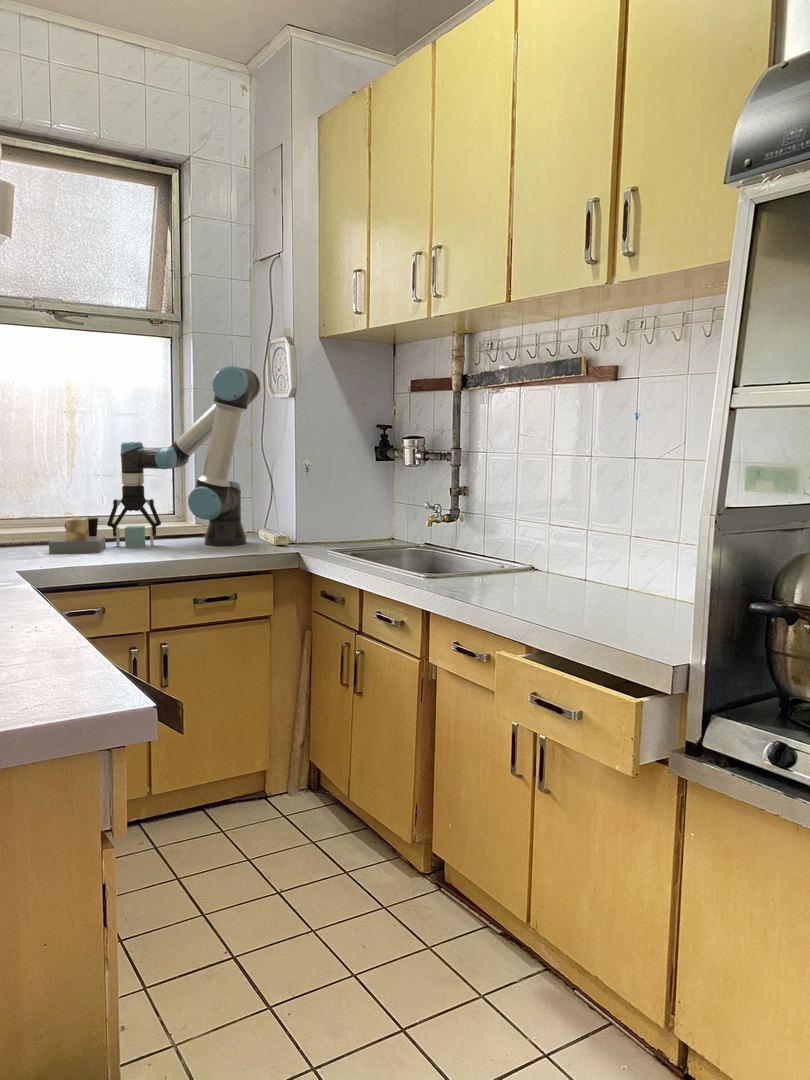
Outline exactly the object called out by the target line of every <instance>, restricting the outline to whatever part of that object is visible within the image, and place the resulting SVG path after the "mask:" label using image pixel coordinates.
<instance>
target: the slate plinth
mask: <svg viewBox="0 0 810 1080" xmlns="http://www.w3.org/2000/svg"><path fill="white" fill-rule="evenodd" d="M106 546H107V545H106V536H104V535H102V536H101V535H100V536H99V535H97V536H89V538H88V539H86V540H78V541H66V536H56V537H55V538H54V539H52V540H50V541H48V554H49V555H51V554H52V555H58V554H98V553H101V552H102V551H103V550H104V549H106Z"/></svg>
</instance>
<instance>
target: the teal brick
mask: <svg viewBox="0 0 810 1080" xmlns="http://www.w3.org/2000/svg"><path fill="white" fill-rule="evenodd" d="M145 527H146V525H127V526H126V527H125V528H124V545H125V546H124V547H125V548H126V549H127V548H133V549H134V548H135V549H137V548H144V546H145V545H146V528H145Z"/></svg>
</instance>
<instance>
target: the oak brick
mask: <svg viewBox="0 0 810 1080" xmlns="http://www.w3.org/2000/svg"><path fill="white" fill-rule="evenodd" d="M64 522H65V524H66V529H65V537H66V541H78V540H86V539H88V538H89V526H88V518H76V517H70V518H67V519H65V521H64ZM65 524H64V525H65Z"/></svg>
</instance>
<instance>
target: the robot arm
mask: <svg viewBox="0 0 810 1080" xmlns="http://www.w3.org/2000/svg"><path fill="white" fill-rule="evenodd" d="M211 386H212V390H213V392H214V396H213V404H212V405H211V407H209V408H208V409H207V410H206V411H205V412H204V413H203V414H202V415H200V417H199V418H198V419H196V421H195V422H193V424H191V425H190V427H188V429H186V430H185V432H183V434H181V435H180V436H179V437H178V438H177V439H176V440H175V441H174V442H173V443H172V444H171V445H170V446H169V447H168V446H167V447H166V446H165V447H164V446H163V447H144V445H143V443H142V442H141V441H123V442H121V445H120V454H119V455H120V459H121V460H120V461H121V463H120V464H121V484H122V486H121V491H122V493H121V495H122V496H121V497H122V498H121V499H117V498H115V499H114V500H112V501H113V503H112V504H113V507H112V509H111V513H110V514H109V519H108V521H107V523H106V525H107V526H108V527H110V528H112V536H113V537H114V538H115V539H116V543H115V544H116V547H120V546H121V541H120V540H121V539H120V527H118V525H119V524H120V522H121V521H122V519H123V518H124V516H125V515H126V513H127V512H128V511H129V512H132V511H135V512H138V511H140V513H142V515H143V516H144V518H145V520H147V522H148V523H149V524H150V527H149V535H150V537H149V538H150V546H154V537H156V536H157V527H159V526H161V525H162V522H161V520H160V517H159V514H158V512H157V510H156V509H157V508H156V507H155V502H154V499H153V498H151V499H146V498H145V486H144V484H145V475H144V474H145V473H144V469H147V470H148V469H150V470H151V469H152V470H156V469H157V470H171V469H175V468H181V467H183V466H185V465H187V463H188V462H189V459H190V457H191V456H192V455H193V454H194V453H196V451H198V449H200V447H202V445H204V443H205V442H207V440H209V443H208V449H207V452H206V456H205V457H206V458H205V462H204V466H203V472H202V474H201V475H199V476H197V479H196V483H195V487H194V489H192V491H190V493H189V495H188V497H187V498H188V499H187V504H188V505H187V506H188V508H189V511H190V512H191V513H192V515H194V516H195V517H196V518H198V519H200V520H208V526H207V528H206V533H205V534H204V535H205V536H204V544H205V545H207V546H218V547H220V546H222V547H223V546H237V545H245V544H247V536H246V533H245V529H244V527H243V523H242V516H241V515H242V500H241V497H242V496H241V494H242V490H241V485H240V483H239V482H237V481H233V480H232V481H229V480H228V478H229V472H230V468H231V463H232V459H233V454H234V449H235V444H236V440H237V435H238V431H239V425H240V422H241V417H242V414H243V413H244V412H246V411H247V410H248V406H249V404H251V403H252V402H253V401H255V399H256V398H257V397H258V395H259V393H260V391H261V383H260V379H259V376H257V374H256V373H255V372H254V371H252V370H251V369H248V368H243V367H238V366H235V365H230V366H228V365H227V366H224V367H222V368H220V369H219V370H218V371H216V372H215V374H214V376H213V378H212V381H211ZM121 504H122V506H123V507H124V508H123V509H122V511H121V513H119V515H118V517H117V519H116V520H115V521H114V518H115V516H116V513H117V510H118V506H120V505H121ZM145 504H147V505H148V506H149V508H150V511H151V513H152V515H153V518H154V520H155V521H154V520H153V518H152V517H151V516H150V514H149V513H148V512H147V510H146V508H145V507H144V505H145Z"/></svg>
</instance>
